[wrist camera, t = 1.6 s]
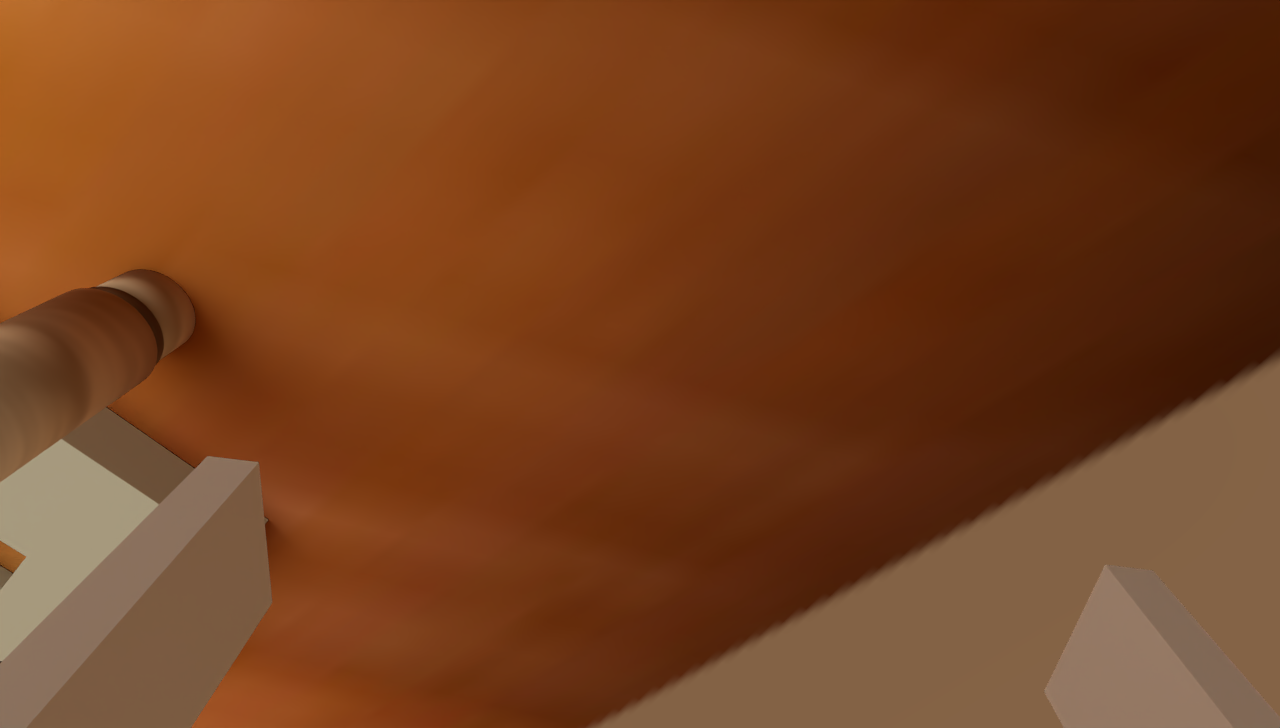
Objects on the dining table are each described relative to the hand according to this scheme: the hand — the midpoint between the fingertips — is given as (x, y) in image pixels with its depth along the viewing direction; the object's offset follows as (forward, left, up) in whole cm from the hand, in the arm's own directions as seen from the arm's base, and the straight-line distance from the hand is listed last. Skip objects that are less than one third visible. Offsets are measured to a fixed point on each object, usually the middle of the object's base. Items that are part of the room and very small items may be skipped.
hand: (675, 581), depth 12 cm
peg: (-14, -19, -22) cm, 32 cm away
